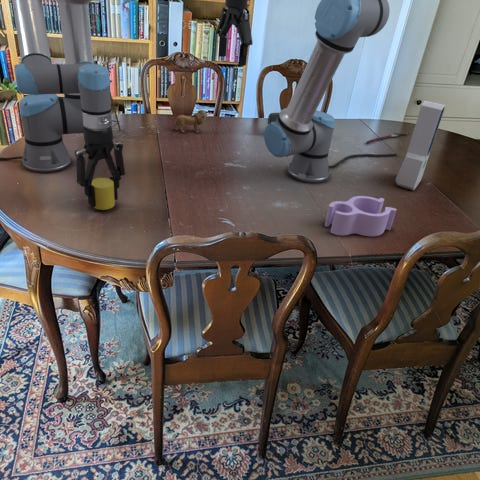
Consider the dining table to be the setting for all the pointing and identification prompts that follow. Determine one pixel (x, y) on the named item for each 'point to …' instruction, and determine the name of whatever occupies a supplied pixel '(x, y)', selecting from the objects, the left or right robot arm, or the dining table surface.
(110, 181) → the tin
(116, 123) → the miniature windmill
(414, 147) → the electronic device
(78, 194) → the dining table surface
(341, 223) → the clip
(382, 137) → the sword
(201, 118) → the lion figurine
